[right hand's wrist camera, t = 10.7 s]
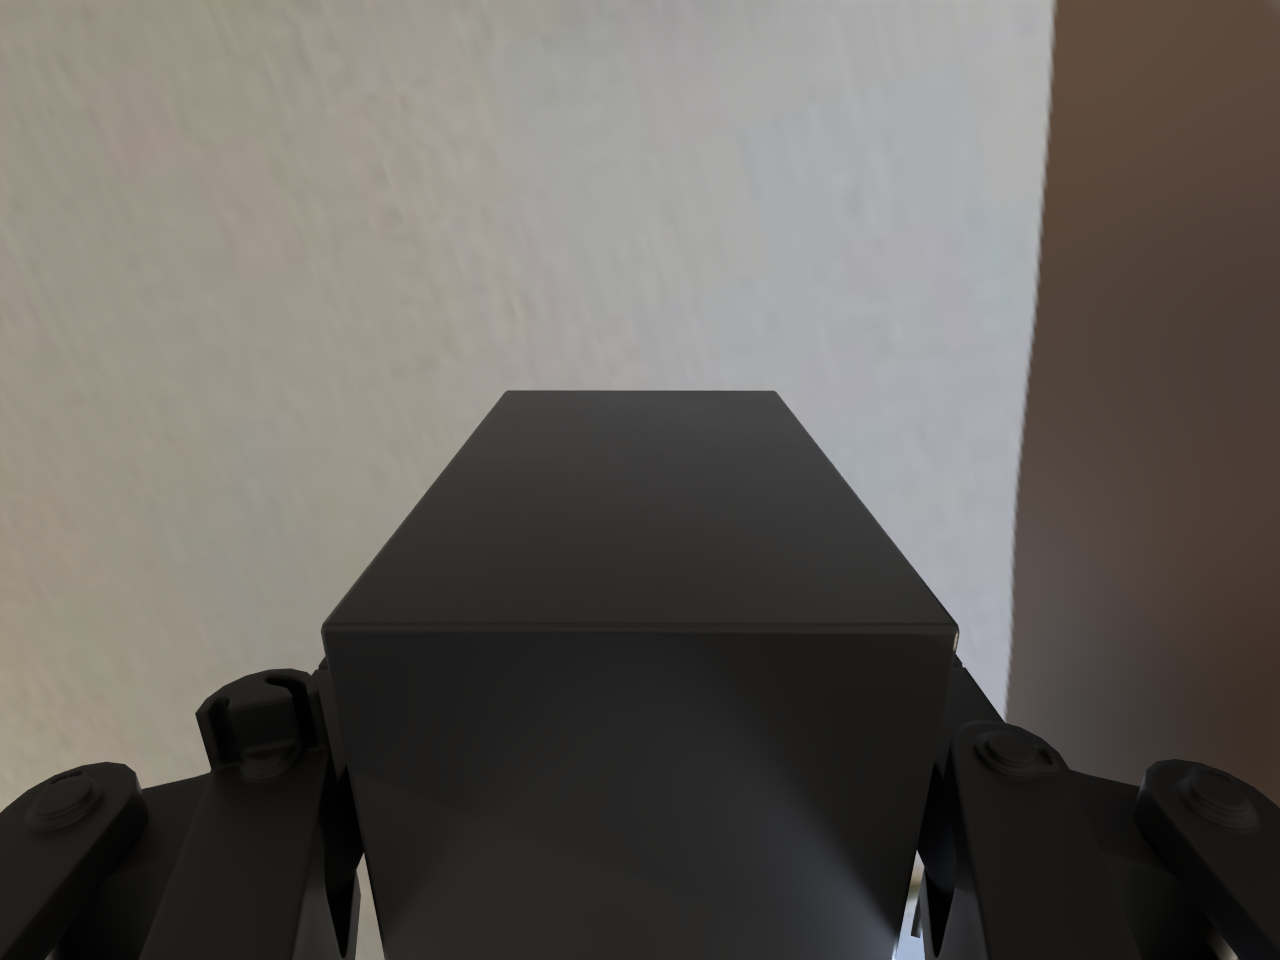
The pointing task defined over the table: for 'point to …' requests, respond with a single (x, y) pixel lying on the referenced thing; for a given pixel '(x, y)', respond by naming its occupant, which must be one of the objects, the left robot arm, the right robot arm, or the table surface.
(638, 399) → the bar
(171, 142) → the table surface
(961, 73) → the table surface
